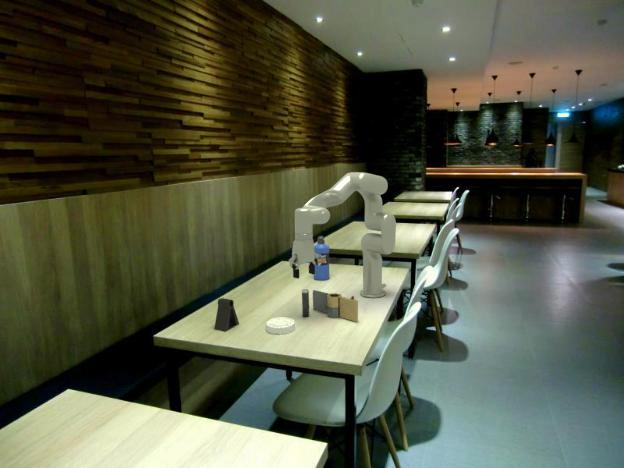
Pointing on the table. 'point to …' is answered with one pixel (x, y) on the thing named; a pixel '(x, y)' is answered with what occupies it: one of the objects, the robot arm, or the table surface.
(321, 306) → the hinge base
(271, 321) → the mooncake
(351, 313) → the hinge leaf
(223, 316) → the phone stand
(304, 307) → the hinge pin
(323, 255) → the water bottle
